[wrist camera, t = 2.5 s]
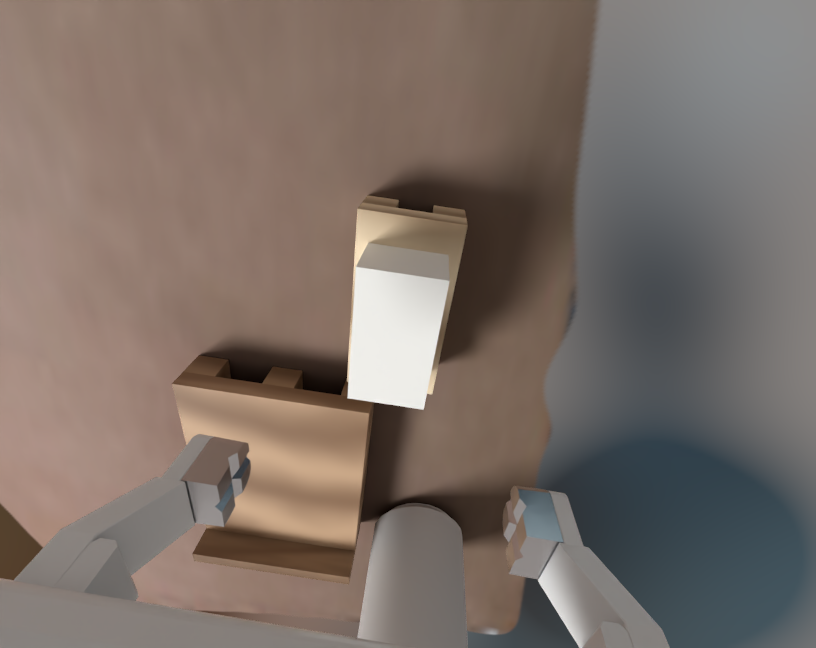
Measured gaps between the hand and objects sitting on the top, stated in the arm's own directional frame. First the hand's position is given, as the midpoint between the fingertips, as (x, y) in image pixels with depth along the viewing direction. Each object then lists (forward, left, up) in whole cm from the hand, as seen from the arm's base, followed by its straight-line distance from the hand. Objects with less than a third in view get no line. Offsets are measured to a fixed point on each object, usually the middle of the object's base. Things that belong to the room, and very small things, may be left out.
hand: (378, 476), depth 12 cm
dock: (+15, -7, -12) cm, 20 cm away
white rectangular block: (0, 0, -10) cm, 10 cm away
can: (+22, +4, -13) cm, 25 cm away
